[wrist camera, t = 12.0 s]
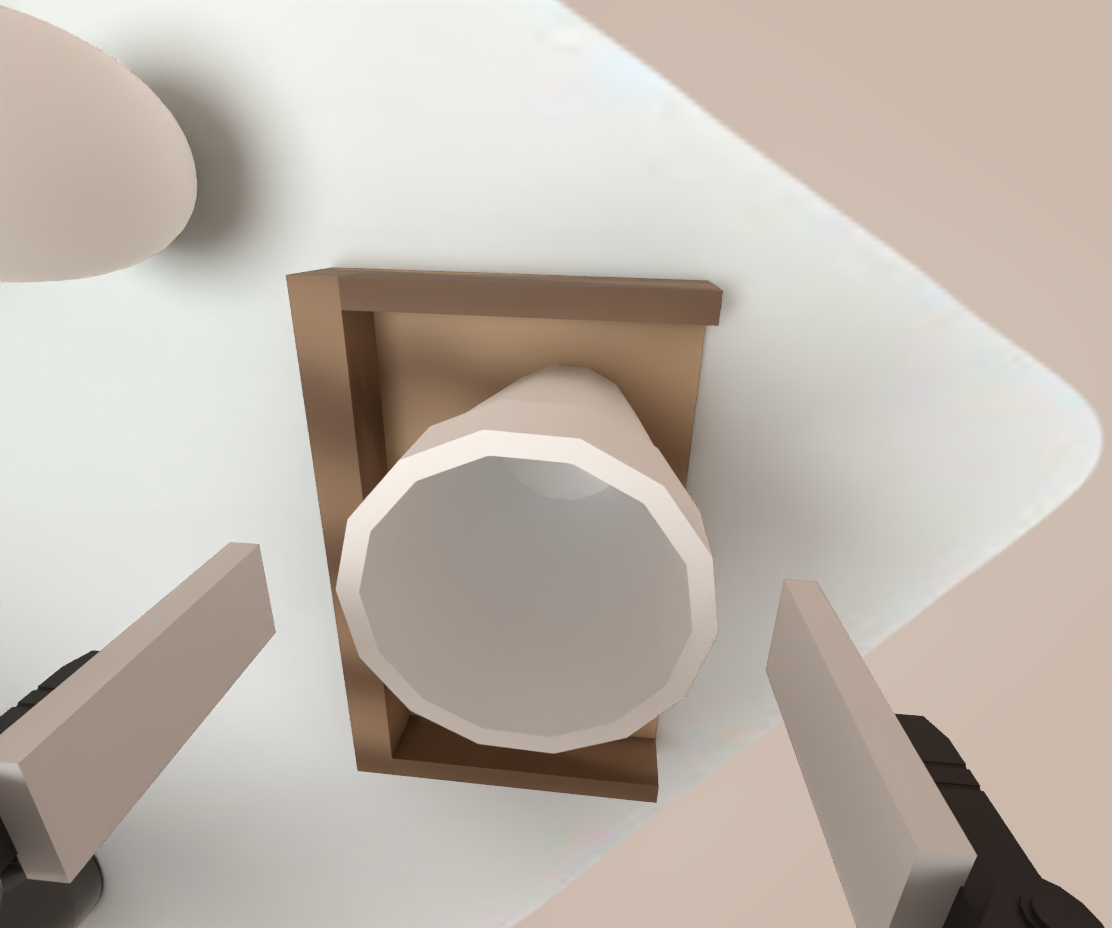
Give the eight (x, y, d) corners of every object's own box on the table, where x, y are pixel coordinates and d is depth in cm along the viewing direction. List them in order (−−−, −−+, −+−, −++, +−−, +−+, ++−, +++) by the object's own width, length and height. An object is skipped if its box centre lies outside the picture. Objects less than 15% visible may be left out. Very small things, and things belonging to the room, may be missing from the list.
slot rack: (652, 742, 34) (656, 802, 30) (383, 716, 35) (357, 770, 32) (707, 280, 24) (722, 290, 21) (331, 267, 25) (285, 275, 22)
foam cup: (629, 550, 28) (636, 791, 16) (445, 493, 28) (317, 695, 16) (704, 365, 25) (785, 502, 13) (492, 298, 24) (372, 373, 12)
